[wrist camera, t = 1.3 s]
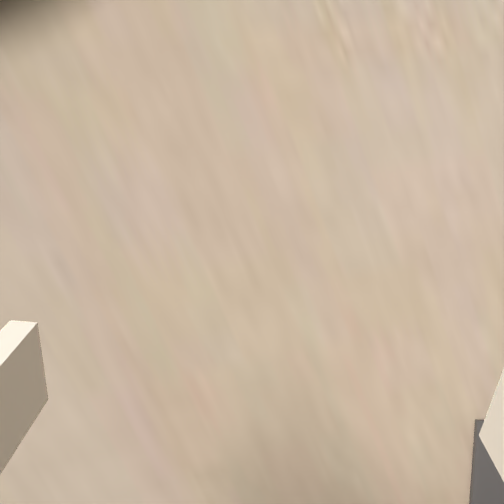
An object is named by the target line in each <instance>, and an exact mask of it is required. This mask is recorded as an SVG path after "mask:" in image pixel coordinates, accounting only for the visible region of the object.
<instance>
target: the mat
mask: <svg viewBox="0 0 504 504" xmlns="http://www.w3.org/2000/svg"><path fill="white" fill-rule="evenodd" d="M483 423H484V420H475V432H474V446H473V460H472V474H471V489H470V503H469V504H504V482H503V480H502V478H501V476H500V474H499V472H498V470H497V469H496V467H495V465H494V463H493V461H492V459H491V457H490V456H489V454H488V452H487V450H486V448H485V446H484V444H483V442H482V441H481V439H480V437H479V433H480V431H481V428H482V425H483Z"/></svg>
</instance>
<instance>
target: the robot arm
mask: <svg viewBox="0 0 504 504" xmlns="http://www.w3.org/2000/svg"><path fill="white" fill-rule="evenodd" d="M47 400H48V394H47V387H46V380H45V373H44V366H43V358H42V351H41V344H40V337H39V330H38V323H37V322H25V321H13V320H10V321H9V322H8V323H7V324H6V325H5V326H4V327H3V328H2V329H1V330H0V474H1V473H2V471H3V469H4V468H5V466H6V465H7V463H8V462H9V460H10V458H11V457H12V455H13V454H14V452H15V451H16V449H17V447H18V446H19V444H20V443H21V441H22V440H23V438H24V436H25V435H26V433H27V432H28V430H29V429H30V427H31V425H32V424H33V422H34V421H35V419H36V418H37V416H38V414H39V413H40V411H41V410H42V408H43V407H44V405H45V403H46V402H47ZM479 437H480V439H481V441H482V442H483V444H484V446H485V448H486V450H487V452H488V454H489V456H490V457H491V459H492V461H493V463H494V465H495V467H496V469H497V470H498V472H499V474H500V476H501V478H502V480H503V482H504V368H503V371H502V374H501V377H500V379H499V382H498V385H497V387H496V390H495V393H494V395H493V398H492V401H491V404H490V406H489V409H488V412H487V414H486V417H485V420H484V423H483V425H482V428H481V431H480V433H479Z"/></svg>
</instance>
